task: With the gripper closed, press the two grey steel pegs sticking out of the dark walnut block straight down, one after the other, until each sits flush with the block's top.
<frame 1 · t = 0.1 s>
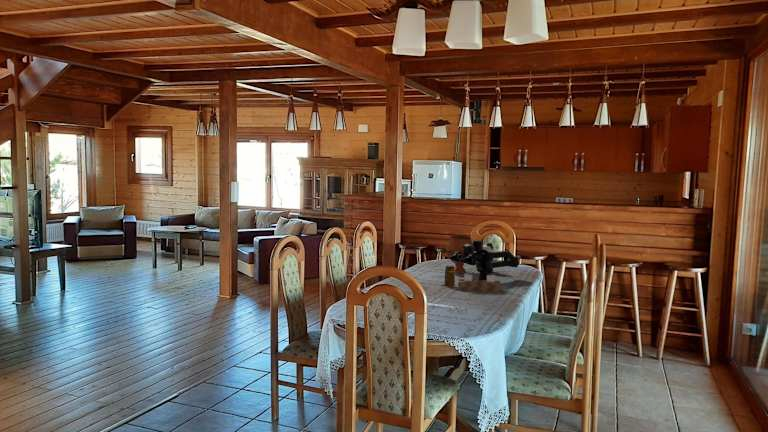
hand: (454, 259, 346), 17 cm above the table, tool horizontal, fingers open, 9 cm apart
peg b: (468, 277, 339), point 7 cm above the table, slide at 4.0 cm
condiment: (448, 286, 349), on the table
peg a: (490, 279, 337), point 7 cm above the table, slide at 4.0 cm
housing: (479, 289, 339), on the table
goblet: (459, 272, 396), on the table
milk carton: (486, 271, 400), on the table
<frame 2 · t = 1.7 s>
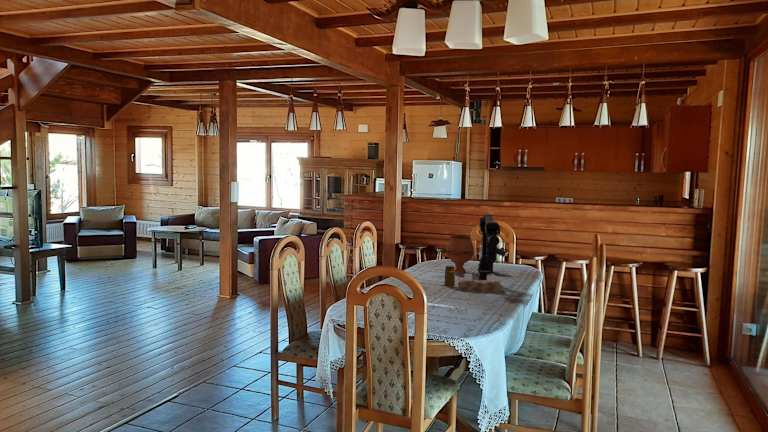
hand: (490, 270, 336), 12 cm above the table, tool pointing down, fingers open, 6 cm apart
nothing on the table moved.
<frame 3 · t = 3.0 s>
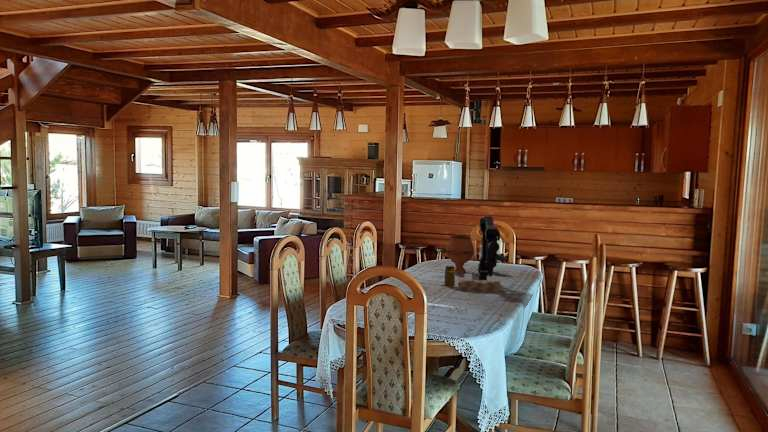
hand: (490, 276, 337), 9 cm above the table, tool pointing down, fingers closed, pressing on peg a
peg a: (490, 279, 337), point 6 cm above the table, slide at 3.5 cm, touching gripper
everything else where it was.
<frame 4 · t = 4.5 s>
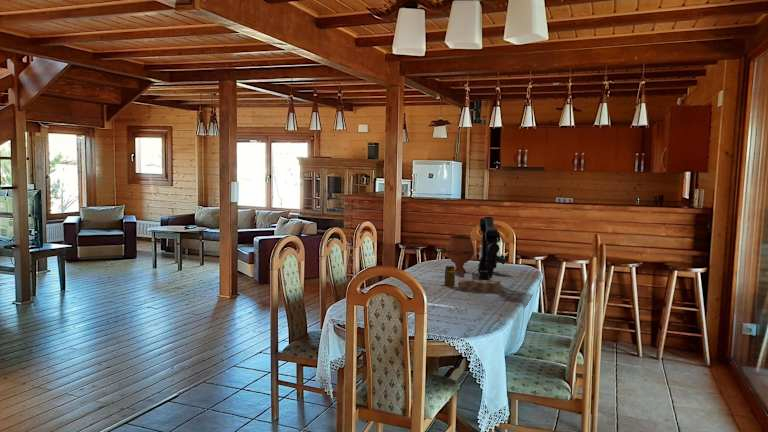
hand: (490, 277, 337), 8 cm above the table, tool pointing down, fingers closed
peg a: (490, 285, 337), point 3 cm above the table, slide at 0.0 cm
everything else where it was.
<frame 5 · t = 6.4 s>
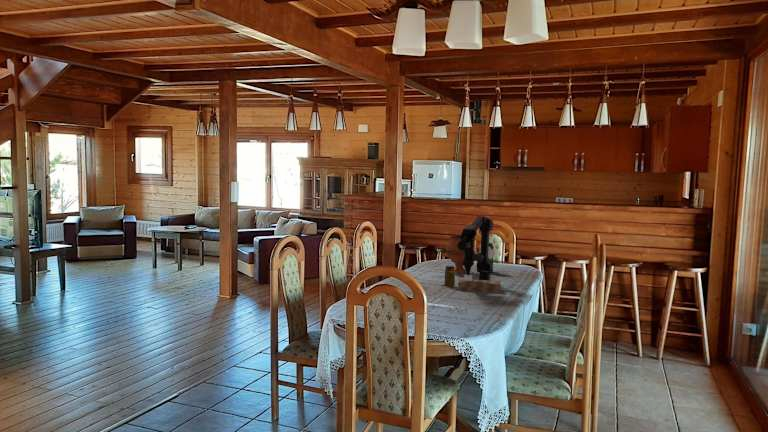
hand: (468, 275, 339), 8 cm above the table, tool pointing down, fingers closed, pressing on peg b
peg b: (468, 278, 339), point 6 cm above the table, slide at 3.4 cm, touching gripper
everything else where it was.
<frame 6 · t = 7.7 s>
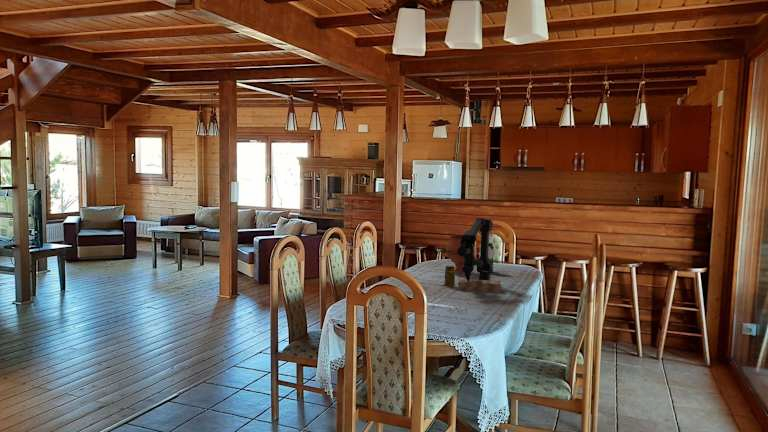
hand: (468, 280, 340), 5 cm above the table, tool pointing down, fingers closed
peg b: (468, 284, 340), point 3 cm above the table, slide at 0.0 cm
everything else where it was.
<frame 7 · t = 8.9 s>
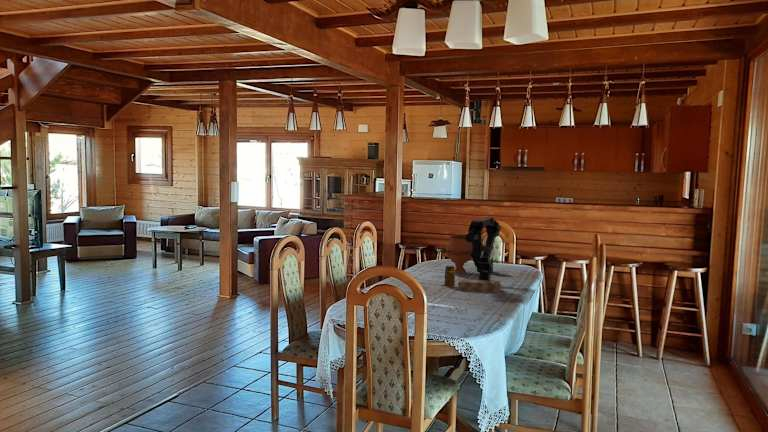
hand: (476, 266, 350), 12 cm above the table, tool pointing down, fingers closed
nothing on the table moved.
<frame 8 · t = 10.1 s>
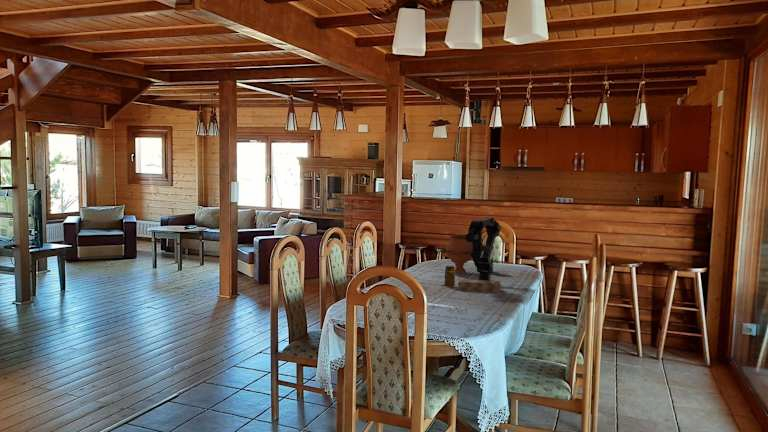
hand: (476, 266, 350), 12 cm above the table, tool pointing down, fingers closed
nothing on the table moved.
at the end: peg a slide at 0.0 cm; peg b slide at 0.0 cm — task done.
